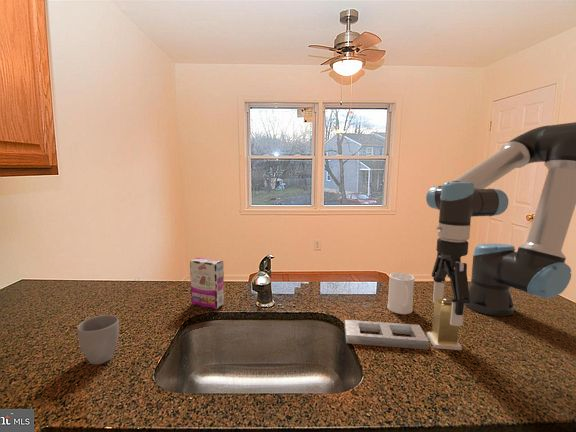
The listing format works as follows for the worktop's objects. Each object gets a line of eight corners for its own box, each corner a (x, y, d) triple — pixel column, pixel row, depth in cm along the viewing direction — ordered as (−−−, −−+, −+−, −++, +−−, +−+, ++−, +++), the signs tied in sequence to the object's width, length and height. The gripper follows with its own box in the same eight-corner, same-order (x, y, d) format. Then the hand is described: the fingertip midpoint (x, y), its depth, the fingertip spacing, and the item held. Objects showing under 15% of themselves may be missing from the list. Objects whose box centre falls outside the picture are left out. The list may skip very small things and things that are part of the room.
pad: (451, 336, 90) (452, 333, 90) (461, 350, 83) (462, 346, 83) (426, 334, 91) (427, 331, 91) (434, 348, 84) (435, 344, 84)
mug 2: (417, 319, 100) (420, 284, 99) (390, 317, 102) (393, 283, 100) (409, 304, 112) (411, 273, 110) (385, 302, 113) (387, 271, 112)
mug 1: (112, 367, 75) (109, 330, 73) (73, 370, 73) (69, 332, 72) (130, 340, 86) (128, 308, 85) (96, 342, 85) (93, 310, 84)
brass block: (449, 335, 89) (453, 296, 88) (456, 344, 84) (460, 303, 83) (431, 333, 90) (434, 295, 88) (437, 343, 85) (441, 302, 83)
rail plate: (418, 332, 92) (419, 324, 92) (428, 349, 83) (429, 341, 83) (344, 327, 95) (344, 319, 95) (346, 343, 86) (346, 334, 86)
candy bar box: (225, 304, 111) (224, 260, 108) (216, 310, 106) (215, 264, 104) (199, 299, 115) (198, 256, 112) (190, 304, 110) (189, 260, 108)
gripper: (424, 230, 96) (419, 294, 99) (457, 250, 71) (449, 335, 74) (449, 230, 95) (443, 296, 98) (491, 251, 70) (482, 337, 73)
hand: (446, 313), depth 86 cm, fingers open, 13 cm apart
